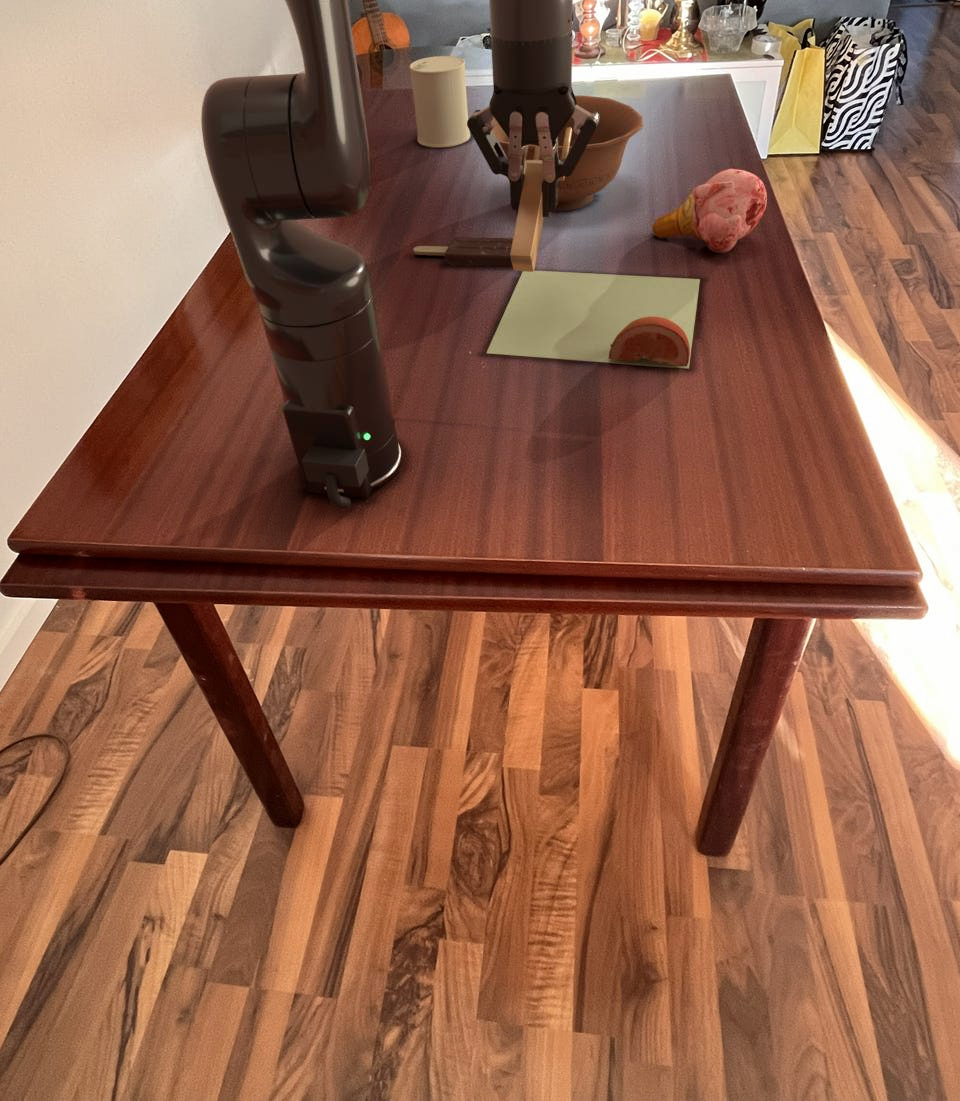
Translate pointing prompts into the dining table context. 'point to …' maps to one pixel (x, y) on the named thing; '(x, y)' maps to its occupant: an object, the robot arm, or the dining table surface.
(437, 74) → the can
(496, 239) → the ice cream bar
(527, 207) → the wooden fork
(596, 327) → the placemat
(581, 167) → the bowl
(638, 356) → the fruit slice
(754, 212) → the ice cream
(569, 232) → the dining table surface
